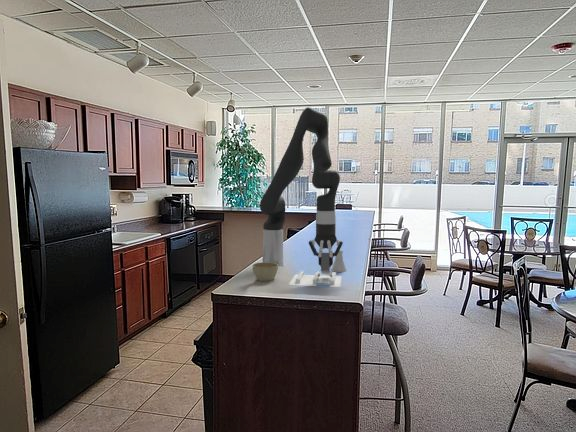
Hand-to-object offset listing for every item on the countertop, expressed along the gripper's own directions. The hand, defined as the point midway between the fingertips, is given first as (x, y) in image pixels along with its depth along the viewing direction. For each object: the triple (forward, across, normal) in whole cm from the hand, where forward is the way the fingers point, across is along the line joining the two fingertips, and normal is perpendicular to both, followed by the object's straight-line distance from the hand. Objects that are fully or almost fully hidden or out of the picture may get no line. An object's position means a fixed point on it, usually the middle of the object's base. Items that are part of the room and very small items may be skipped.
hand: (325, 266), depth 153 cm
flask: (+7, -5, -16) cm, 18 cm away
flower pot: (+7, +24, +2) cm, 25 cm away
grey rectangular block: (+3, 0, 0) cm, 3 cm away
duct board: (+7, +4, +2) cm, 8 cm away
